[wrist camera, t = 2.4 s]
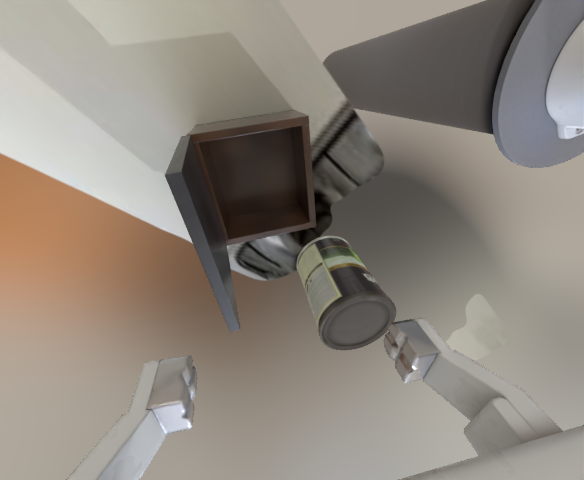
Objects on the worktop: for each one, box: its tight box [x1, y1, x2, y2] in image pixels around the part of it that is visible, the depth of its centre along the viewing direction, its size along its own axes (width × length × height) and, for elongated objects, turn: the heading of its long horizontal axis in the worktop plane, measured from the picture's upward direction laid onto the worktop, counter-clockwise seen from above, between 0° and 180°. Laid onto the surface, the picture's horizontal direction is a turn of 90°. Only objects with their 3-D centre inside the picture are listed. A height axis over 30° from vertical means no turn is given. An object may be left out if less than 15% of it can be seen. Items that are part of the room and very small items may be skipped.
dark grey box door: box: [165, 135, 240, 332], centre depth 20 cm, size 12×13×1 cm
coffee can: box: [296, 235, 396, 350], centre depth 37 cm, size 10×10×14 cm
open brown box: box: [187, 110, 316, 246], centre depth 29 cm, size 12×13×7 cm
